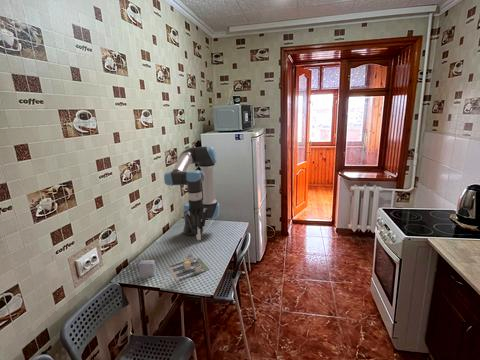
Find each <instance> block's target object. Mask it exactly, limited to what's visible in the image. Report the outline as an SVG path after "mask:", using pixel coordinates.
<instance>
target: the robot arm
mask: <svg viewBox="0 0 480 360" xmlns="http://www.w3.org/2000/svg"><path fill="white" fill-rule="evenodd" d="M177 159H178V160H177V162H176V164H175V165H174V167H173V169H172V170H171V171H169V172H165V173H164V177H163V179H164V184H165V185H166V186H172V187H173V186H184V185H185V186H186V188H187V198H188V202H186V203H185V204H184V205H183V216H184V225H183V230H182V231H183V235H185V236H188V237H195V236H196V239H197V241H201V240H202V238H201V236H202V234H203V233H204V227H205V226H206V225H205V224H206V220H214V219H218V218H219V214H220V202H218V200H217V199H216V196H215V193H216V192H215V181H214V169H213V168H214V167H215V165H216V163H217V154H216V151H215V148H214V147H213V146H197V147H195V146H192V147H189V148H186V149H185V150H183V151H182V152H181V153H180V154H179V156H178V158H177ZM192 164H198V167H199V168H200V170H199V169H196V170H188V168H189V166H190V165H192ZM187 170H188V171H187ZM202 232H203V233H202Z"/></svg>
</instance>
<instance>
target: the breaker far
mask: <svg viewBox="0 0 480 360" xmlns="http://www.w3.org/2000/svg"><path fill="white" fill-rule="evenodd" d="M194 258H195V257H194V255H193V254H190V253H189V254H188V255H186V261H189V262H190V263H193V262H195V260H194Z"/></svg>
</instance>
